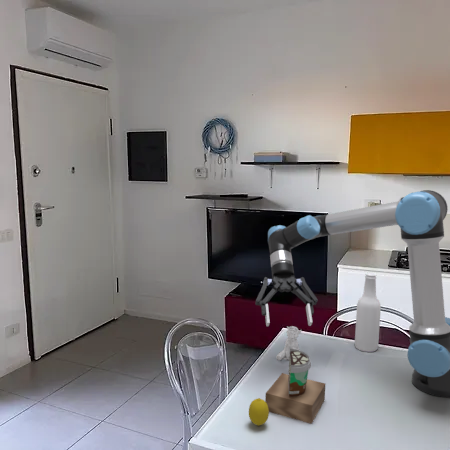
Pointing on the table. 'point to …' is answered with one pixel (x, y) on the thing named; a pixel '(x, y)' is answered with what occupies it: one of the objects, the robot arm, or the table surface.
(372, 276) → the alcohol
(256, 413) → the lemon
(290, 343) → the white creature statuette
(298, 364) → the food container
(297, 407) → the square wooden plinth
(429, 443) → the table surface
